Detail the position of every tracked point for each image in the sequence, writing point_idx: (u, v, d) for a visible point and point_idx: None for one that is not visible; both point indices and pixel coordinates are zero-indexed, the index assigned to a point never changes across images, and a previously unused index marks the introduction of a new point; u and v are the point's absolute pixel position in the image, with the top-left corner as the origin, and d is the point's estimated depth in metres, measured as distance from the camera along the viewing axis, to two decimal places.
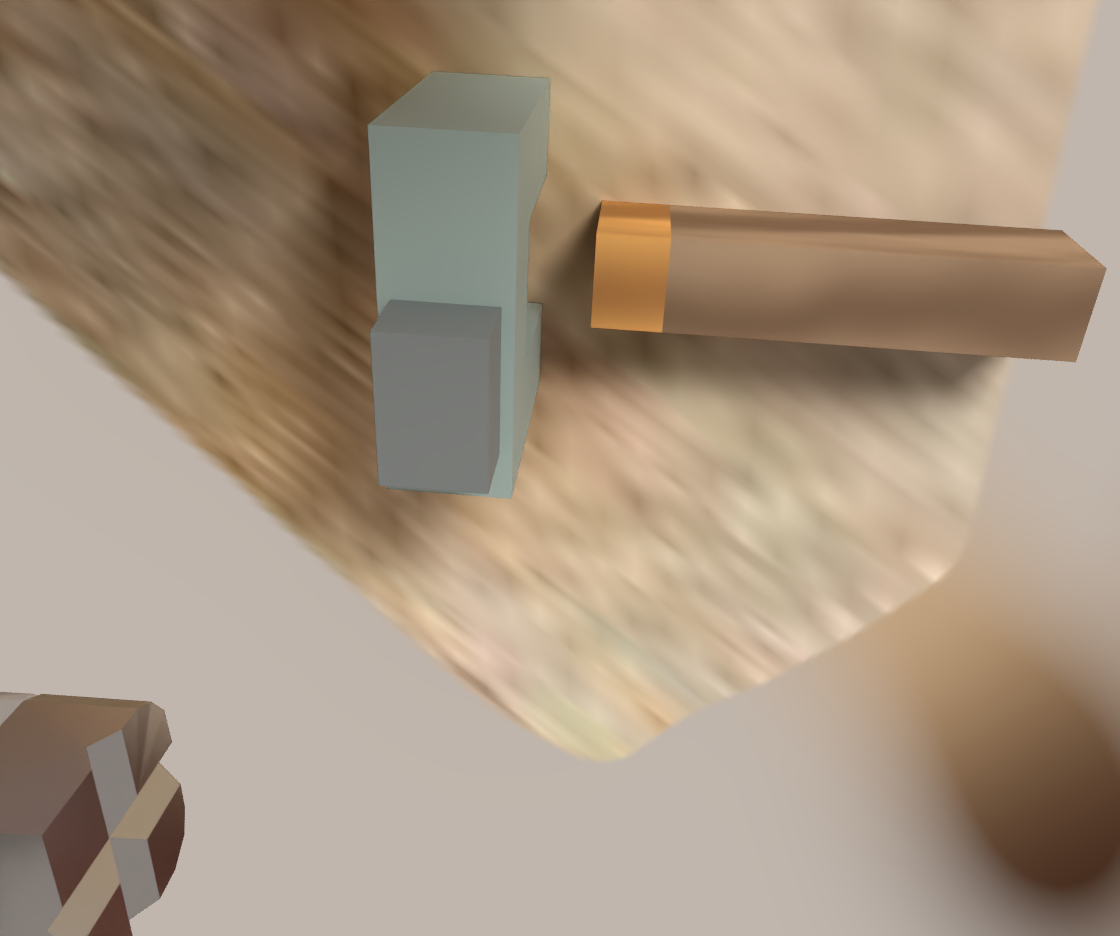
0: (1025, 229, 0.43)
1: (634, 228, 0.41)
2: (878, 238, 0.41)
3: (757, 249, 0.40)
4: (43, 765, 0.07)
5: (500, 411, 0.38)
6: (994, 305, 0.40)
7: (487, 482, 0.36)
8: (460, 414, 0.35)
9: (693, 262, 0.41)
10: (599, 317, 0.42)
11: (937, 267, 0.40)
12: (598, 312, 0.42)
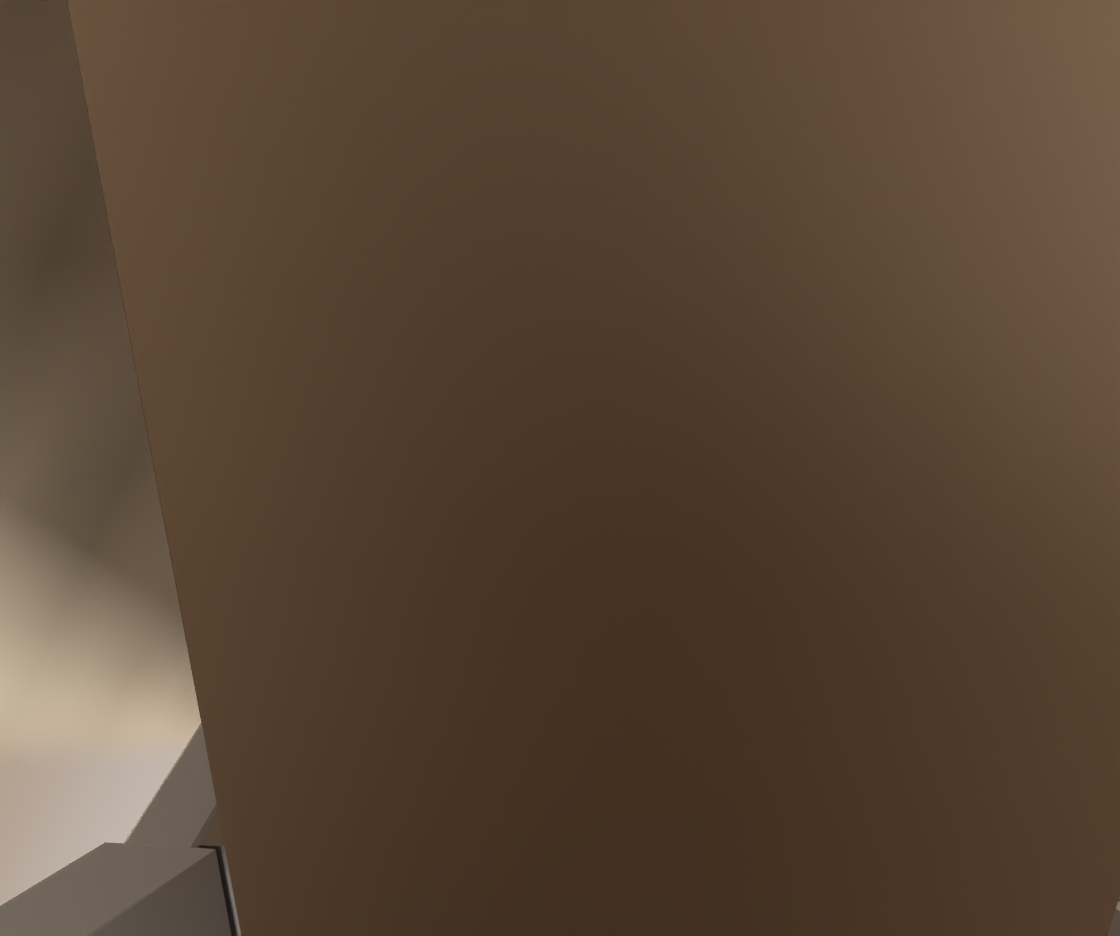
0: None
1: None
2: None
3: None
4: None
5: None
6: None
7: None
8: None
9: None
10: None
11: None
12: None
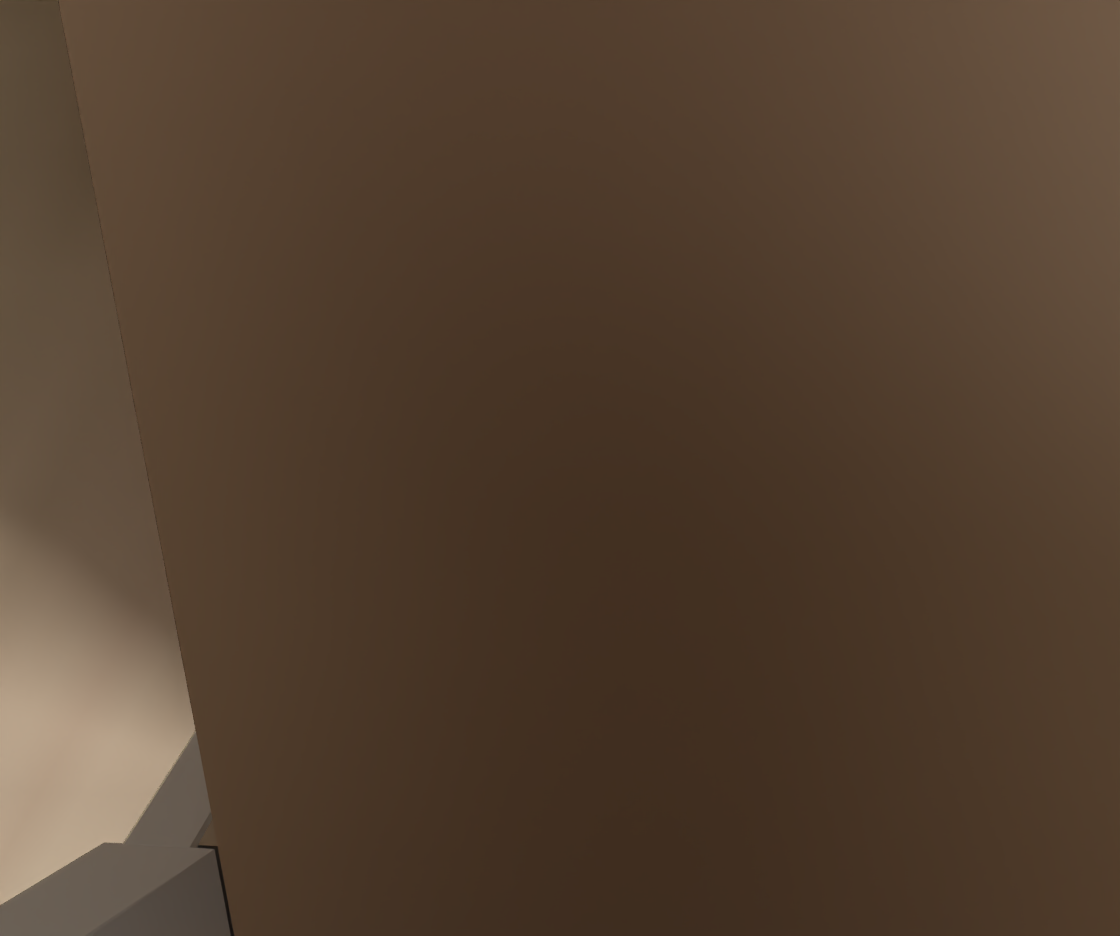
0: None
1: None
2: None
3: None
4: None
5: None
6: None
7: None
8: None
9: None
10: None
11: (1111, 566, 0.04)
12: None
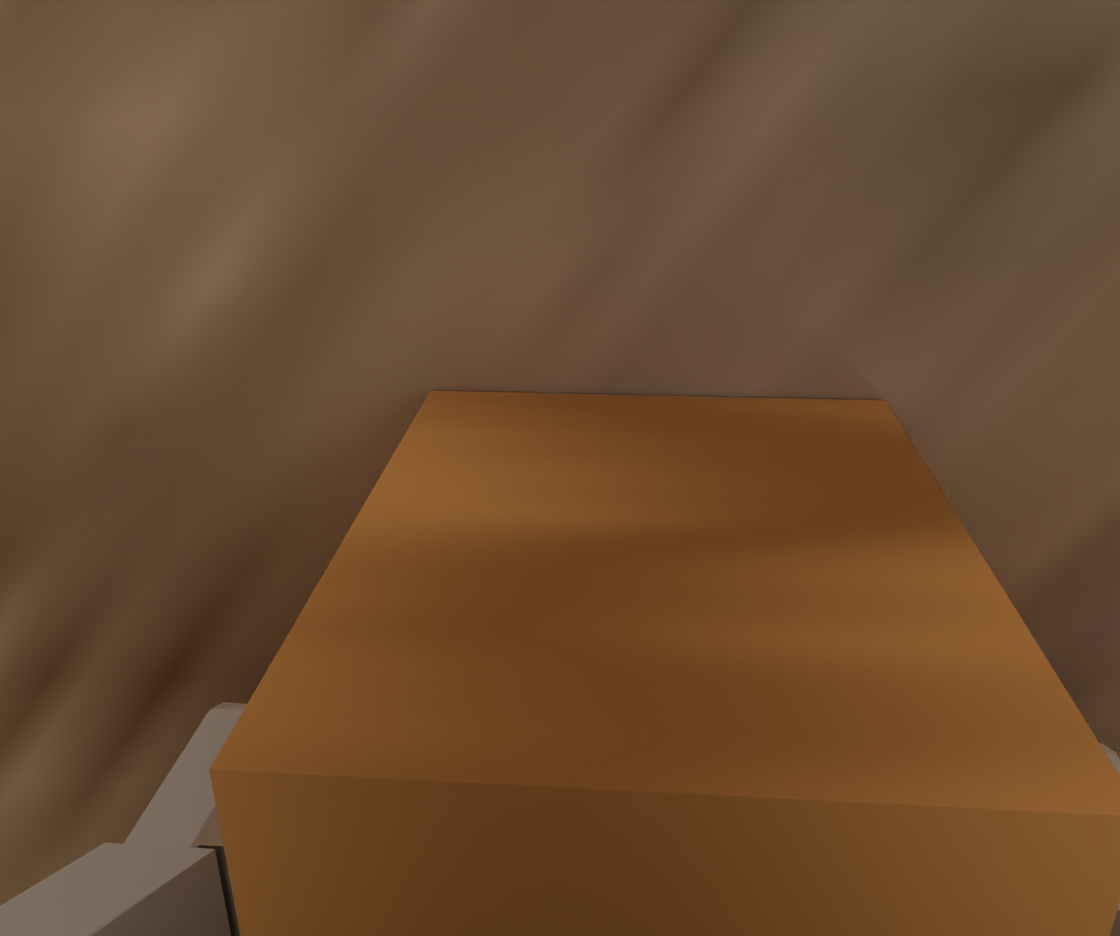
0: None
1: None
2: None
3: None
4: None
5: None
6: None
7: None
8: None
9: None
10: (320, 832, 0.05)
11: None
12: (366, 825, 0.05)
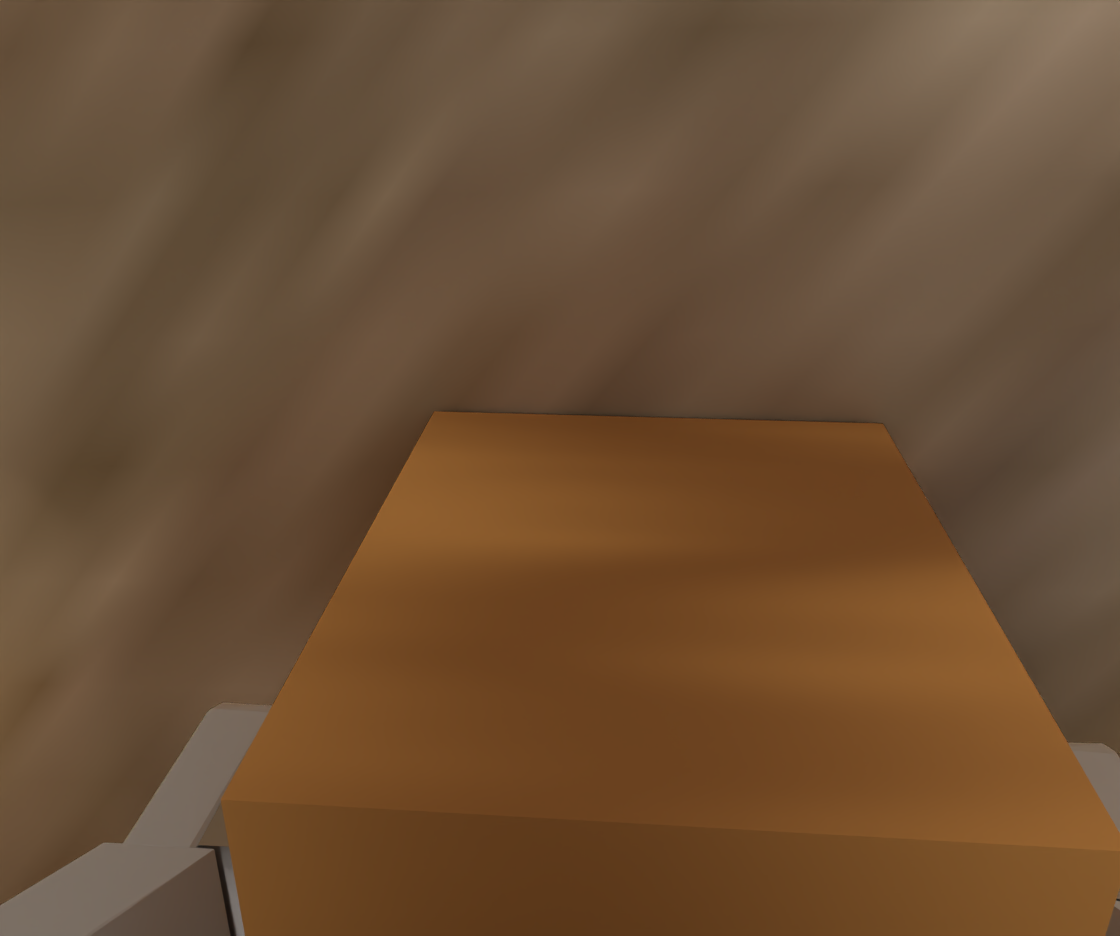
0: None
1: None
2: None
3: None
4: None
5: None
6: None
7: None
8: None
9: None
10: (328, 860, 0.05)
11: None
12: (373, 854, 0.05)
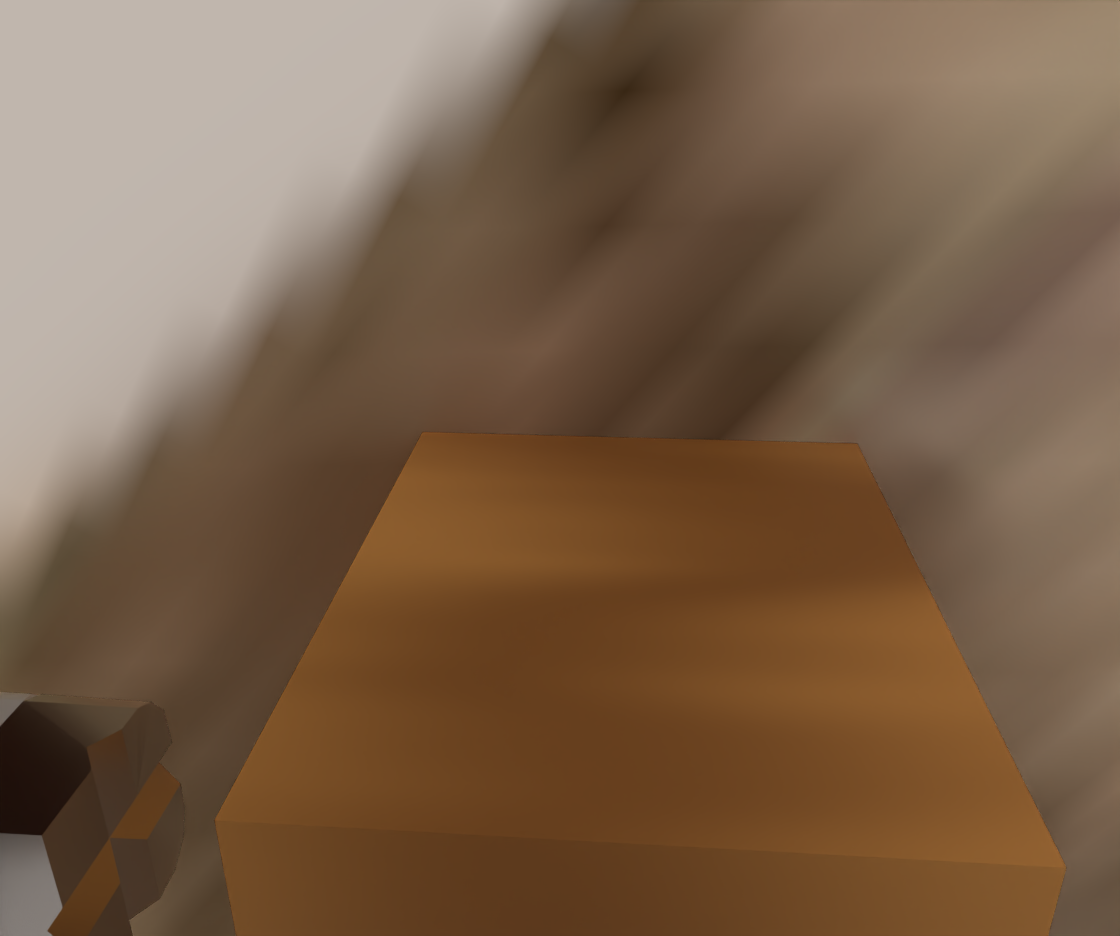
0: None
1: None
2: None
3: None
4: (43, 766, 0.07)
5: None
6: None
7: None
8: None
9: None
10: (316, 876, 0.05)
11: None
12: (358, 871, 0.05)
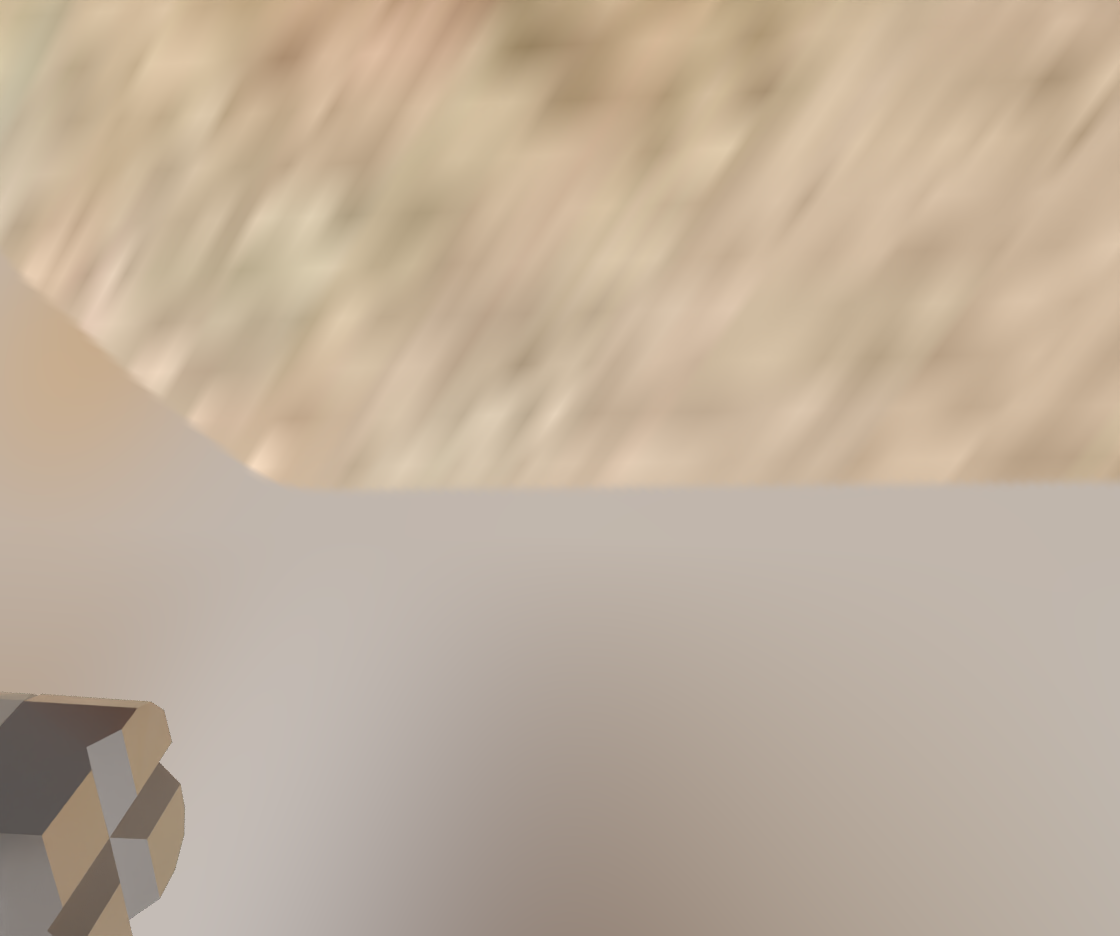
0: None
1: None
2: None
3: None
4: (43, 765, 0.07)
5: None
6: None
7: None
8: None
9: None
10: None
11: None
12: None
